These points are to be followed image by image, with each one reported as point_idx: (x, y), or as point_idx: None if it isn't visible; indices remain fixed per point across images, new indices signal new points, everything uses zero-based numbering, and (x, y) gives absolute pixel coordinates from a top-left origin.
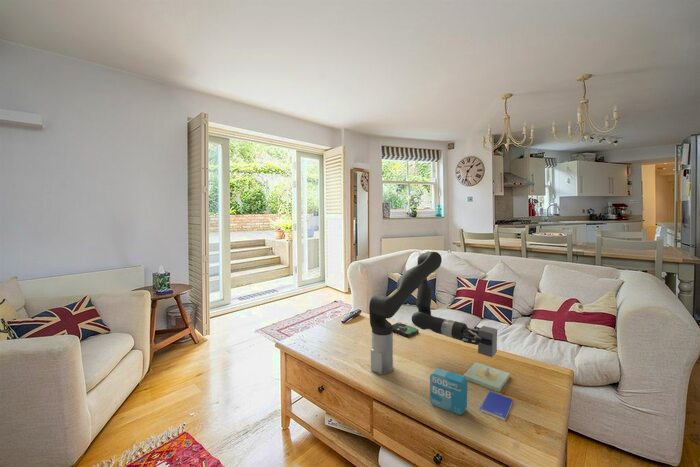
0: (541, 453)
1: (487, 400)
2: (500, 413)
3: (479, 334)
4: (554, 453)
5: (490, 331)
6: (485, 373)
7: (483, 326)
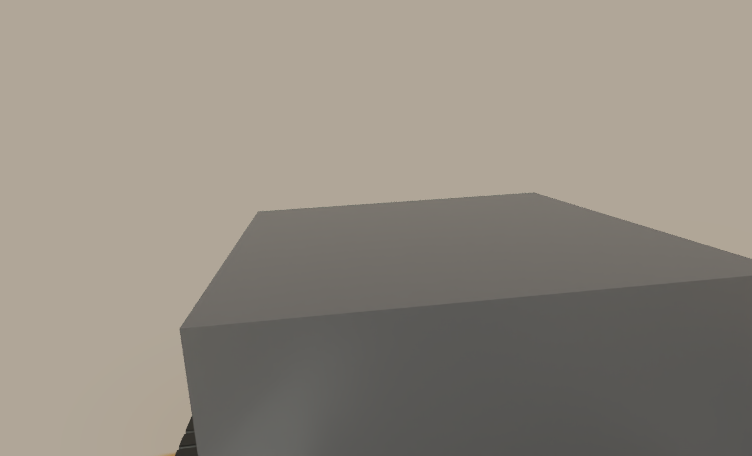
0: None
1: None
2: None
3: (734, 417)
4: None
5: (484, 209)
6: None
7: (281, 303)
